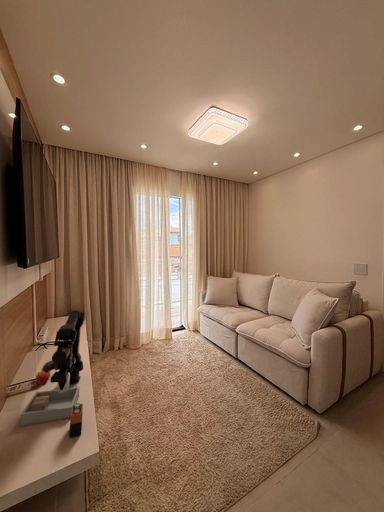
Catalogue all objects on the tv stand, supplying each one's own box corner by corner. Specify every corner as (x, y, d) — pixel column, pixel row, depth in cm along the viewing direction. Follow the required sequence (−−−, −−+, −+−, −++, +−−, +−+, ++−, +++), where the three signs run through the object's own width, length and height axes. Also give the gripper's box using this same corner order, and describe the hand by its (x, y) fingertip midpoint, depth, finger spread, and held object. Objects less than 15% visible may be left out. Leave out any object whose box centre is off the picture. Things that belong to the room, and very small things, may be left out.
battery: (82, 423, 92) (83, 400, 92) (81, 435, 86) (82, 410, 86) (70, 426, 90) (71, 403, 90) (69, 439, 84) (70, 413, 84)
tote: (35, 402, 104) (36, 392, 104) (79, 396, 110) (79, 386, 110) (19, 426, 89) (20, 414, 89) (71, 418, 95) (71, 407, 95)
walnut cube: (36, 407, 100) (36, 397, 100) (48, 405, 101) (48, 395, 101) (31, 415, 95) (32, 404, 95) (44, 413, 96) (44, 402, 96)
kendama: (34, 375, 130) (32, 386, 115) (37, 364, 131) (35, 373, 116) (49, 374, 134) (49, 385, 119) (52, 363, 135) (52, 372, 120)
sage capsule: (70, 385, 104) (71, 371, 104) (67, 392, 99) (68, 377, 99) (58, 387, 102) (59, 372, 103) (55, 393, 98) (56, 378, 98)
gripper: (52, 347, 108) (51, 377, 107) (37, 365, 90) (35, 401, 89) (76, 345, 111) (75, 375, 111) (66, 362, 93) (64, 397, 93)
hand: (63, 386), depth 101 cm, fingers closed on sage capsule, 5 cm apart
